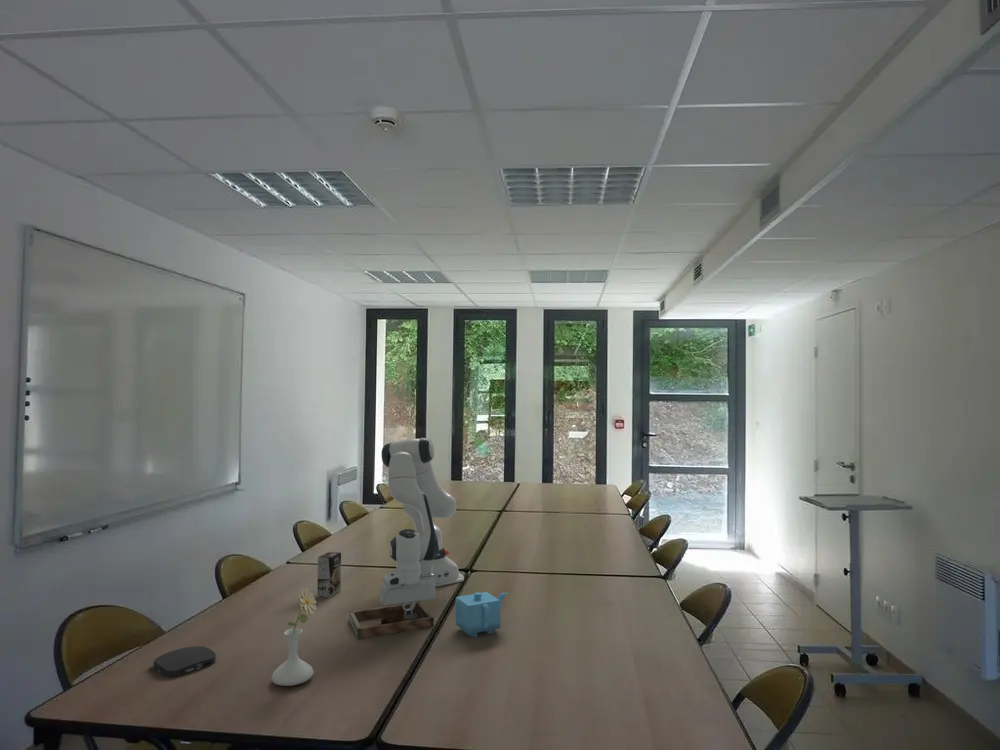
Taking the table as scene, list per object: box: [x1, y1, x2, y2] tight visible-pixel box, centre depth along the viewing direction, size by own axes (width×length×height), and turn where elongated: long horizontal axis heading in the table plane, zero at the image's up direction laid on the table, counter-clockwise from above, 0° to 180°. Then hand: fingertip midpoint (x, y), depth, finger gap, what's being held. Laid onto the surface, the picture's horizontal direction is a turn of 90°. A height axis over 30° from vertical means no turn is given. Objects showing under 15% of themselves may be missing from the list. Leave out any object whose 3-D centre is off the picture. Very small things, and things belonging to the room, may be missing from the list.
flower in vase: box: [270, 588, 318, 687], centre depth 171 cm, size 13×11×25 cm
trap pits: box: [403, 611, 422, 621], centre depth 217 cm, size 6×14×1 cm, turn 23°
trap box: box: [348, 601, 435, 639], centre depth 214 cm, size 26×18×3 cm
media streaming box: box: [153, 645, 216, 678], centre depth 181 cm, size 15×15×3 cm
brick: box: [380, 607, 404, 625], centre depth 212 cm, size 11×4×5 cm, turn 165°
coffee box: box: [316, 551, 342, 598], centre depth 247 cm, size 9×6×16 cm
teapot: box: [455, 591, 509, 638], centre depth 208 cm, size 18×16×13 cm
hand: (408, 614), depth 216 cm, fingers closed
